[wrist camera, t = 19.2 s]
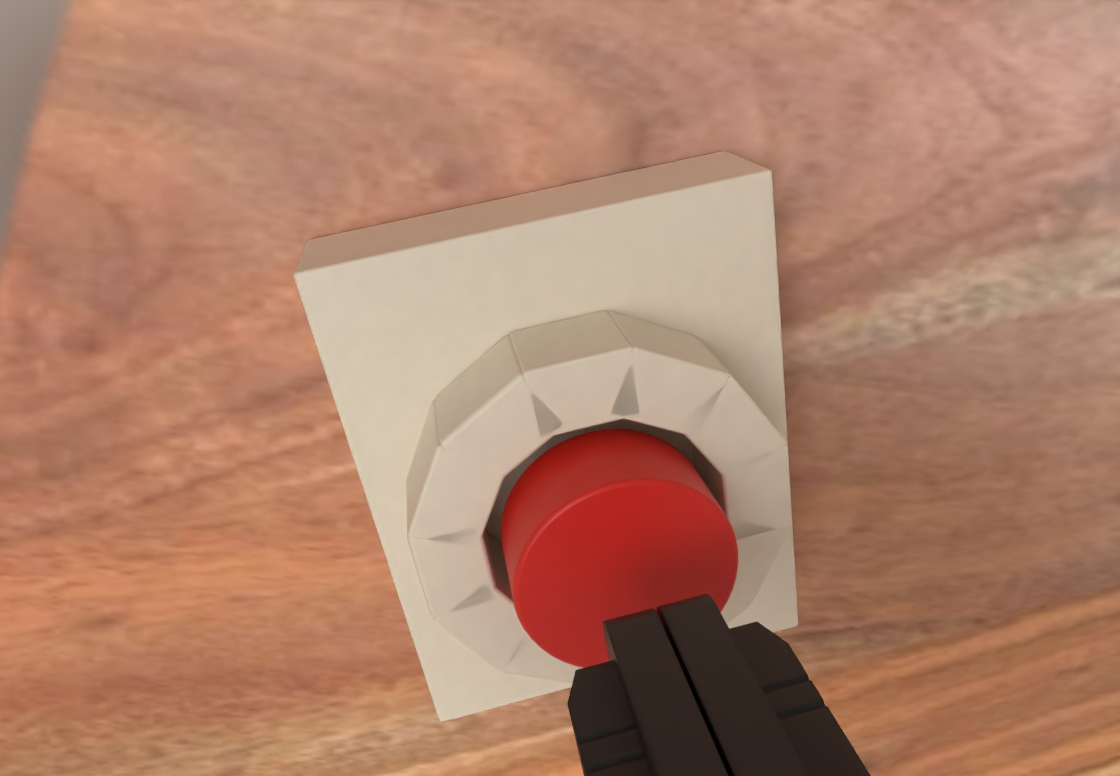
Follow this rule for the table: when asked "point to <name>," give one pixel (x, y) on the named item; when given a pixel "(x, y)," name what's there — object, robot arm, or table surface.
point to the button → (610, 539)
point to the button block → (554, 385)
